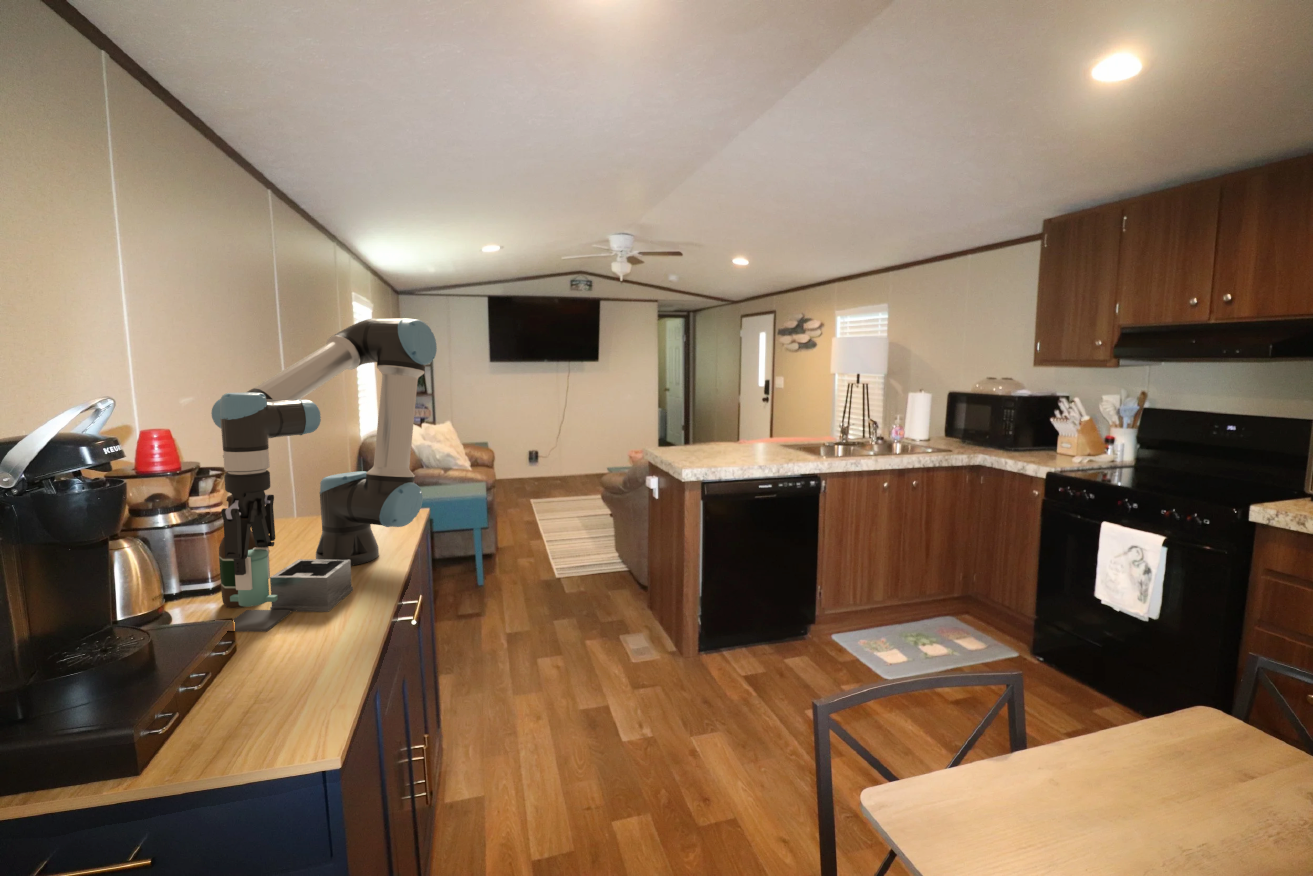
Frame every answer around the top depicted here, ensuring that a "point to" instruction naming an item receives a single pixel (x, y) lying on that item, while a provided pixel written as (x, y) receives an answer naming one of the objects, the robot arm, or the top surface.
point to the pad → (259, 620)
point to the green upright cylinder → (256, 582)
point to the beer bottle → (230, 571)
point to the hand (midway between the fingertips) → (253, 583)
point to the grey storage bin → (311, 585)
